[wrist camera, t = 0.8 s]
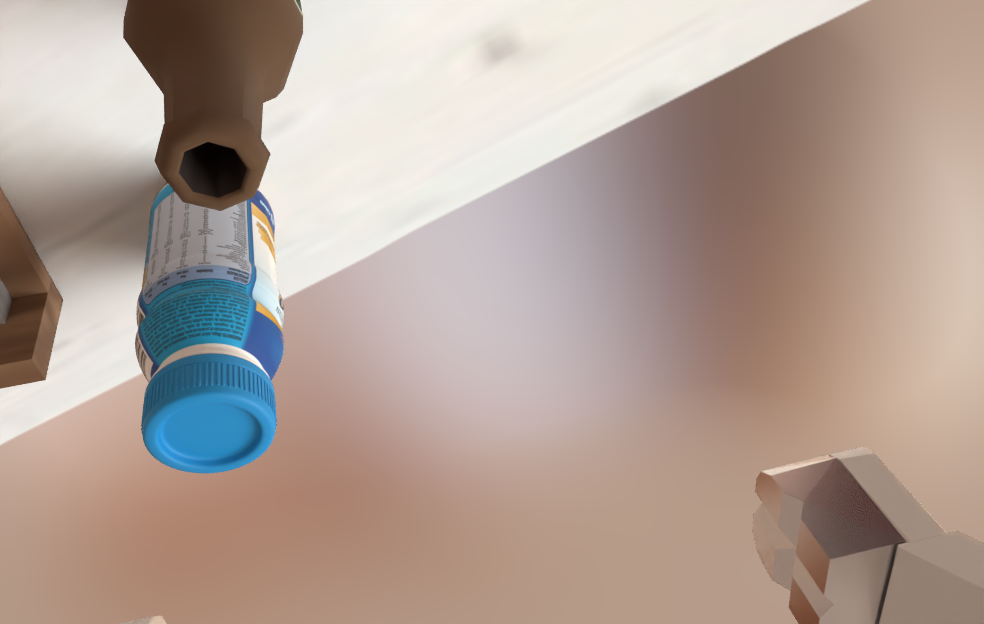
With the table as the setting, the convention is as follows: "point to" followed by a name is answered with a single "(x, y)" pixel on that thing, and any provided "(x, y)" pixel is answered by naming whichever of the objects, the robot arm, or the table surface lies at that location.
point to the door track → (24, 305)
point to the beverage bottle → (209, 333)
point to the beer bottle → (214, 87)
